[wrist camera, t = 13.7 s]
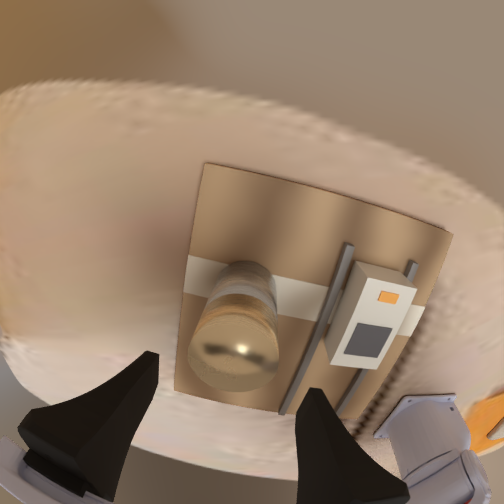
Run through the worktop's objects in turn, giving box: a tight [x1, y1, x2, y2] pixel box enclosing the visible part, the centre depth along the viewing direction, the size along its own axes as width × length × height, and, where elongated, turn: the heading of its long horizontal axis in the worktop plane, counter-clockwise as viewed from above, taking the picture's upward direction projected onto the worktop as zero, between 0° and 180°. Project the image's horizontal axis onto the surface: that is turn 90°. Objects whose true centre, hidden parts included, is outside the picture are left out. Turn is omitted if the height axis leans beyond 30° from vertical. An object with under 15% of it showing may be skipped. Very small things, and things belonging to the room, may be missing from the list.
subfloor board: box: [174, 163, 453, 419], centre depth 22 cm, size 20×21×2 cm
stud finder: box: [324, 261, 417, 370], centre depth 19 cm, size 4×7×3 cm, turn 167°
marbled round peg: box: [188, 261, 279, 392], centre depth 17 cm, size 4×4×8 cm
